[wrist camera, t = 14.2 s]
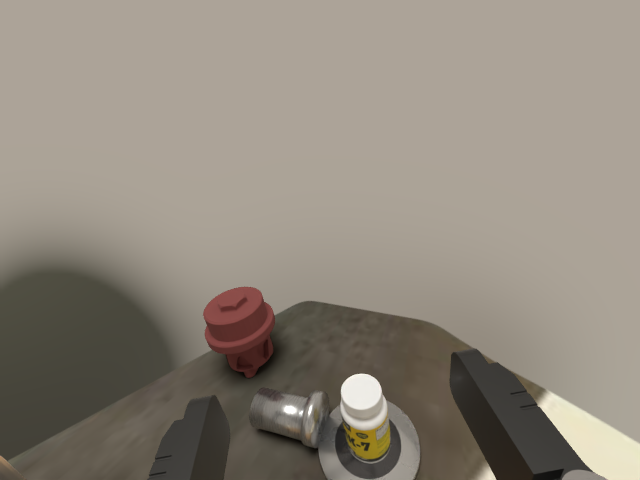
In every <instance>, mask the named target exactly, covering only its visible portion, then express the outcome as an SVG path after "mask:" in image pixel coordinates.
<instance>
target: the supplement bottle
mask: <svg viewBox="0 0 640 480" xmlns="http://www.w3.org/2000/svg"><path fill="white" fill-rule="evenodd" d="M341 398H342V400H341V404H340V410H341V416H342V420H343V425H344V430H345V434H346V439H347V444H348V447H349V450H350V452H351V453H352V455H353V456H354V457H355V458H357V459H358V460H360V461H362V462H364V463H369V464H373V463H377V462H379V461H381V460H383V459H384V458H385V457H386V455H387V454H388V452H389V450H390V446H391V436H390V426H389V417H388V407H387V402H386V400H385V397H384V396H383V394H382V389H381V386H380V384H379V382H378V381H377V380H376V379H375V378H374V377H372V376H370V375H367V374H356V375H353V376H351V377H349V378H348V379H347V380H346V381H345V382H344V383H343V385H342V388H341Z"/></svg>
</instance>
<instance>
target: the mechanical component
mask: <svg viewBox="0 0 640 480" xmlns="http://www.w3.org/2000/svg"><path fill="white" fill-rule="evenodd" d="M203 315H204V319H205V321H206V324H207V327H206V329H205V338H206V340H207V343H208V345H209V347H210V348H211V349H212V350H214V351H215V352H218V353H222V354H226V357H227V360H228V363H229V365H230V367H231V368H232V369H234V370H235V371H239V372H244V374H245V376H246V377H247V378H251V377H253V376H254V375H255V374H256V372H257V369H258V368H259V367H260V366H262V365H263V364H264V363H265V362H266V361H267V360H268V359H269V358H270V356H271V355H272V354H273V344H272V342H271V338H270V335H269V334H270V333H271V331H272V329H273V327H274V324H275V316H274V313H273V310H272V308H271V306H270V305H269V304H267V303H266V302H264V300H263V297H262V294H261V292H260V291H259V290H257V289H256V288H252V287H239V288H234V289H231V290H228V291H226V292H224V293H221V294H220V295H218V296H216V297H215V298H214V299H213V300H211V301H210V302H209V303H208V305H207V306H206V308H205V309H204V313H203Z"/></svg>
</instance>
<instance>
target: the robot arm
mask: <svg viewBox="0 0 640 480" xmlns="http://www.w3.org/2000/svg"><path fill="white" fill-rule="evenodd" d="M450 388H451V392H452V395H453V398H454V400H455V402H456V404H457V406H458V408H459V410H460V412H461V413H462V415H463V417H464V419H465V421H466V423H467V425H468V427H469V428H470V430H471V432H472V434H473V436H474V438H475V440H476V442H477V443H478V445H479V447H480V449H481V451H482V453H483V455H484V457H485V459H486V460H487V462H488V464H489V466H490V468H491V470H492V472H493V474H494V475H495V477H496V479H497V480H607V479H605V478H604V477H602V476H600V475H598V474H596V473H594V472H593V471H592V470H591V469H590V468H589V467H588V466H586V465H585V463H584V462H583V461H582V460H581V459H580V458H579V456H578V455H577V454H576V453H575V451H574V450H573V449H572V447H571V446H570V445H569V444H568V442H567V441H566V440H565V439H564V437H563V436H562V435H561V433H560V432H559V431H558V430H557V428H556V427H555V426H554V425H553V423H552V422H551V421H550V420H549V418H548V417H547V416H546V414H545V413H544V412H543V411H542V409H541V408H540V407H538V406H537V403H536V402H535V400H534V399H533V398H532V397H531V395H530V394H528V393H527V390H526V389H525V388H524V386H523V385H522V384H521V383H520V381H519V380H518V379H517V378H516V376H515V375H514V374H513V373H511V372H510V371H508V370H507V369H506V368H504V367H503V366H502V365H500V364H499V363H498V362H497V363H492V364H488V362H487V361H486V360H485V358H484V357H483V356H482V354H481V353H480V352H479V351H478V350H477V349H469V350H463V351H458V352H453V353H452V355H451V369H450ZM229 443H230V428H229V423H228V420H227V418H226V416H225V414H224V412H223V410H222V407H221V405H220V403H219V401H218V399H217V397H216V396H215V395H212V396H207V397H202V398H196V399H192V400H190V402H189V403H188V406H187V409H186V412H185V415H184V418H183V419H182V420H177V421H174V422H173V424H172V425H171V427H170V428H169V430H168V431H167V432H166V434H165V435H164V437H163V438H162V440H161V443H160V446H159V449H158V452H157V454H156V457H155V462H154V463H153V465H152V468H151V471H150V474H149V479H147V480H223V479H224V473H225V467H226V461H227V455H228V449H229ZM0 480H26V479H25V478H24V477H23V476H22V475H21V474H20V473H19V472H18V471H17V470H16V469H14V468H13V467H12V466H11V465H10V464H9V463H8V462H7V461H6V460H5V459H4V458H3V457H2V456H0Z"/></svg>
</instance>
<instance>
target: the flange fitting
mask: <svg viewBox="0 0 640 480" xmlns="http://www.w3.org/2000/svg"><path fill="white" fill-rule="evenodd" d="M386 402H387V407H388V417H389V426H390V436H391V446H390V450H389V452H388V454H387V455H386V457H385V458H384V459H383V460H381V461H379V462H377V463H373V464H369V463H364V462H362V461H360V460H358V459H357V458H355V457H354V456H353V455H352V453H351V452H350V450H349V447H348V444H347V439H346V434H345V430H344V425H343V420H342V416H341V410H340V405H339V406H338V407H336V408H335V409H334V410H333V411H332V412H331V413H330V415H329V397H328V394H327V393H326V392H322V391H317V390H314V391H313V392H312V393H311V394H310V395H309V397H304V396H300V395H295V394H291V393H286V392H282V391H278V390H273V389H269V388H261V389H260V390H259V391H258V392H257V393H256V395H255V397H254V399H253V401H252V404H251V408H250V423H251V425H252V426H253V427H256V428H260V429H263V430H267V431H270V432H274V433H277V434H280V435H284V436H287V437H291V438H294V439H298V440H301V441H302V443H303V444H304V445H306V446H309V447H312V448H317V447H318V451H319V458H320V462H321V466H322V469H323V472H324V474H325V476H326V478H327V480H415V478H416V476H417V473H418V470H419V465H420V445H419V439H418V435H417V433H416V430H415V428H414V426H413V424H412V422H411V421H410V419H409V418H408V417H407V415H406V414H405V413H404V412H403V411H402V410H401V409H399V408H398V407H397V406H395V405H394V404H392V403H390V402H388V401H386Z"/></svg>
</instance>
